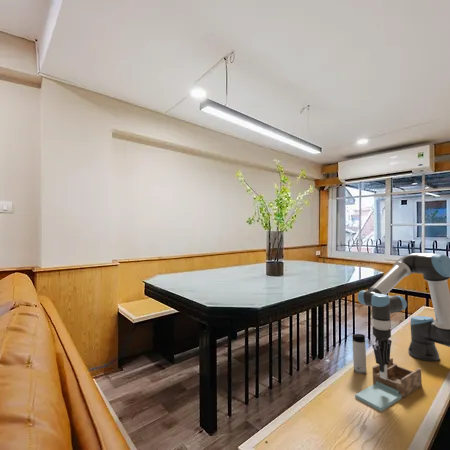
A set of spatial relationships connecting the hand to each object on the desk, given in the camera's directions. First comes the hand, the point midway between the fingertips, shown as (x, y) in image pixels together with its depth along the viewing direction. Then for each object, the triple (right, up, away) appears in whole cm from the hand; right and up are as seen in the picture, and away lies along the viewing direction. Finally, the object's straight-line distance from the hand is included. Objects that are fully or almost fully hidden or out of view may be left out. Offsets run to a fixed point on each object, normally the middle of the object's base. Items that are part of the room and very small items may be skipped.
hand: (383, 377), depth 128 cm
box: (+10, -7, +6) cm, 14 cm away
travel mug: (-1, -8, +20) cm, 22 cm away
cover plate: (-4, -8, -3) cm, 10 cm away
